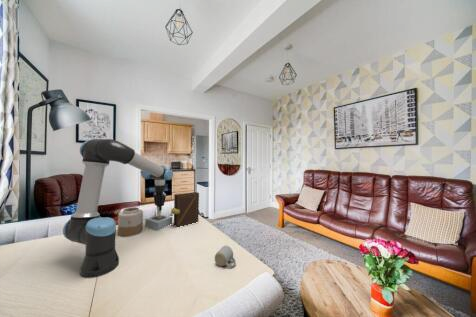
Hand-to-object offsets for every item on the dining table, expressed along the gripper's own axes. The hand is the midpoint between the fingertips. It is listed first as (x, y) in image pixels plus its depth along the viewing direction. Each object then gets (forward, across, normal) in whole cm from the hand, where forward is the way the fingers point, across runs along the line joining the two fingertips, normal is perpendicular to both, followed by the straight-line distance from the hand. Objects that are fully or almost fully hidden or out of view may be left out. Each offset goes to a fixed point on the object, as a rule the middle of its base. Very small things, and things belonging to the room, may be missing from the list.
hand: (158, 214), depth 142 cm
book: (+9, -16, -12) cm, 22 cm away
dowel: (+9, 0, 0) cm, 9 cm away
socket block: (+9, 0, 0) cm, 9 cm away
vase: (+10, +8, +18) cm, 22 cm away
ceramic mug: (+10, -71, +19) cm, 74 cm away
